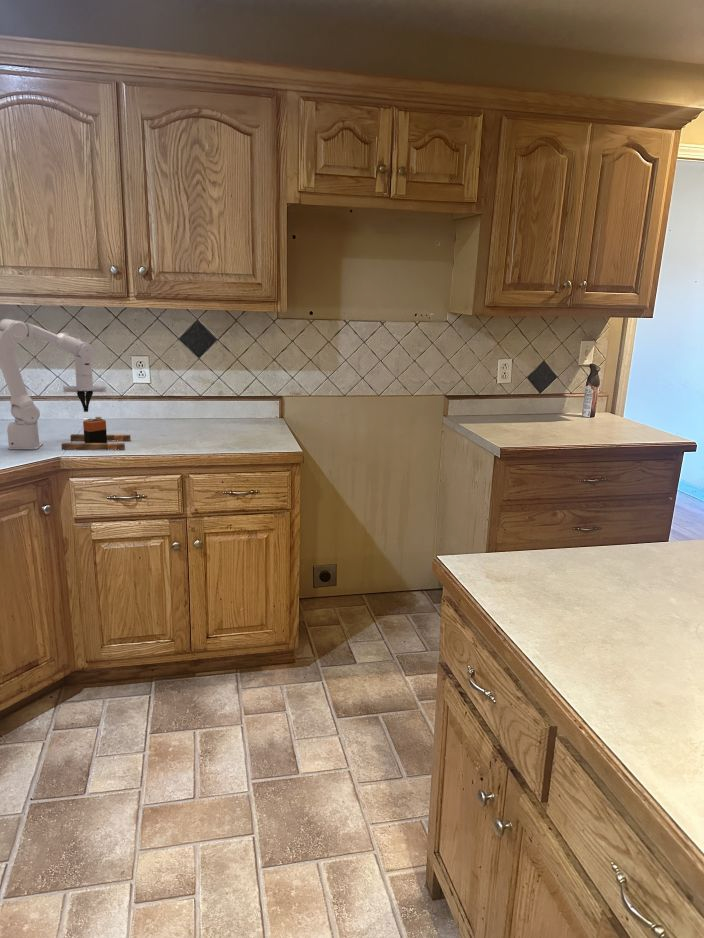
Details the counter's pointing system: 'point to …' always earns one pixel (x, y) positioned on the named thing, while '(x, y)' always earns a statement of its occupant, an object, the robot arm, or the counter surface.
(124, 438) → the guide channel
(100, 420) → the battery
